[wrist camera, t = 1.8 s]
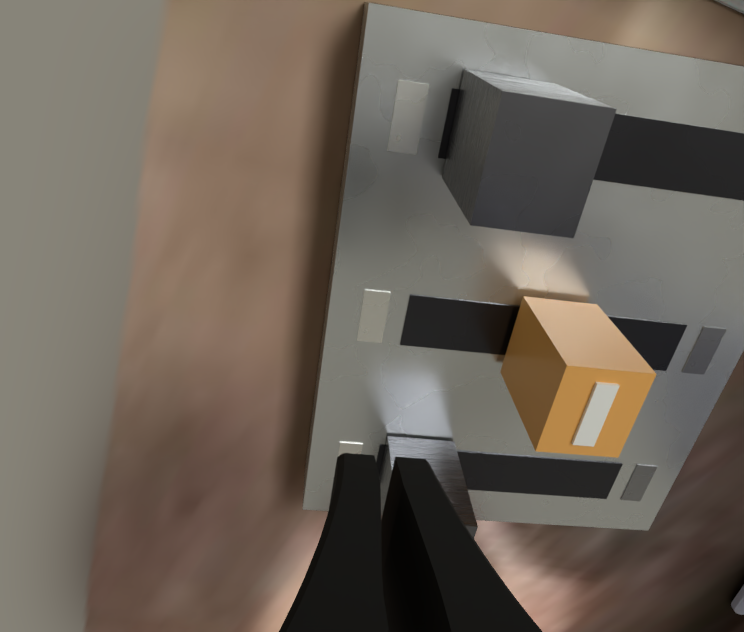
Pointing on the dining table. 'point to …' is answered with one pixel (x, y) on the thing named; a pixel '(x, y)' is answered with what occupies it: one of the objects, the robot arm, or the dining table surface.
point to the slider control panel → (526, 257)
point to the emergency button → (733, 4)
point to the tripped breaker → (574, 378)
